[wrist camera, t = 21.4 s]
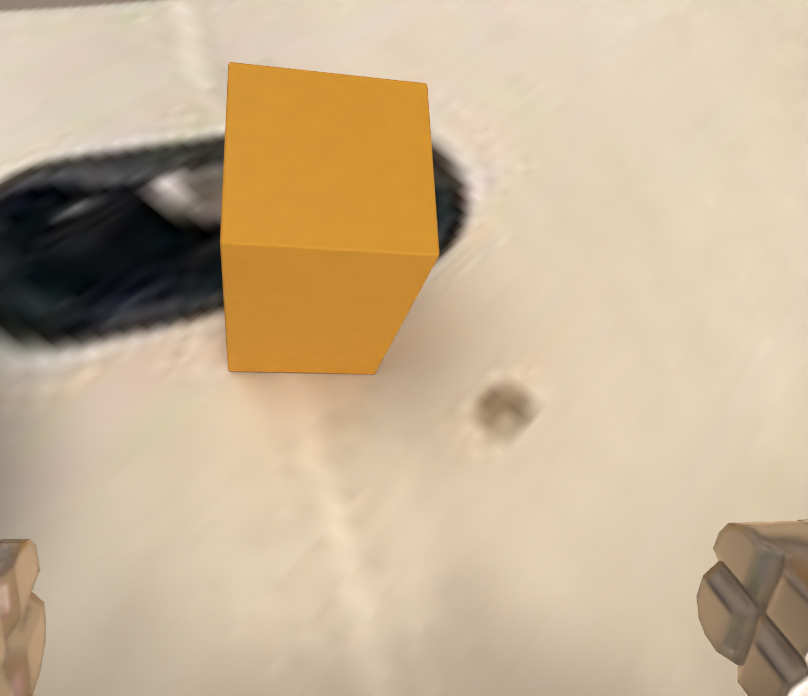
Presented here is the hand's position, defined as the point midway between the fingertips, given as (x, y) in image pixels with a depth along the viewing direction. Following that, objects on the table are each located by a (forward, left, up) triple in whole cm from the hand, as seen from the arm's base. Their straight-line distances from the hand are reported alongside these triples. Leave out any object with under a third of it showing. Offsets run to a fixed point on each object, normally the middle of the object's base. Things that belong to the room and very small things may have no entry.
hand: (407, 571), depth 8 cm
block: (-4, -9, -15) cm, 18 cm away
